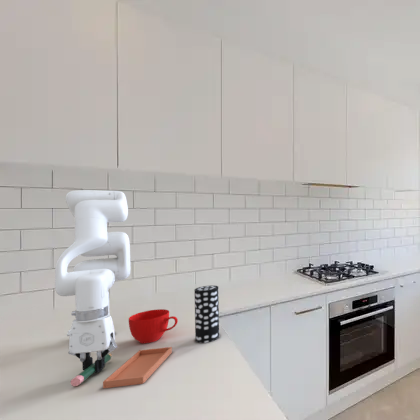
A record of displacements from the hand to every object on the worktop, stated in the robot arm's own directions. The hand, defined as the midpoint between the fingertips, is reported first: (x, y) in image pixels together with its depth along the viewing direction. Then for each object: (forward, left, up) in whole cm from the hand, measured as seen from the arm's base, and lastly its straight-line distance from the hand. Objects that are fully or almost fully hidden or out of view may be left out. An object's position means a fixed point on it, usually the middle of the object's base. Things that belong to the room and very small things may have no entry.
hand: (94, 370), depth 97 cm
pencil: (0, 0, 0) cm, 0 cm away
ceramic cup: (+7, +24, -1) cm, 25 cm away
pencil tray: (+13, 0, -1) cm, 13 cm away
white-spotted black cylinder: (+27, +20, -1) cm, 34 cm away
